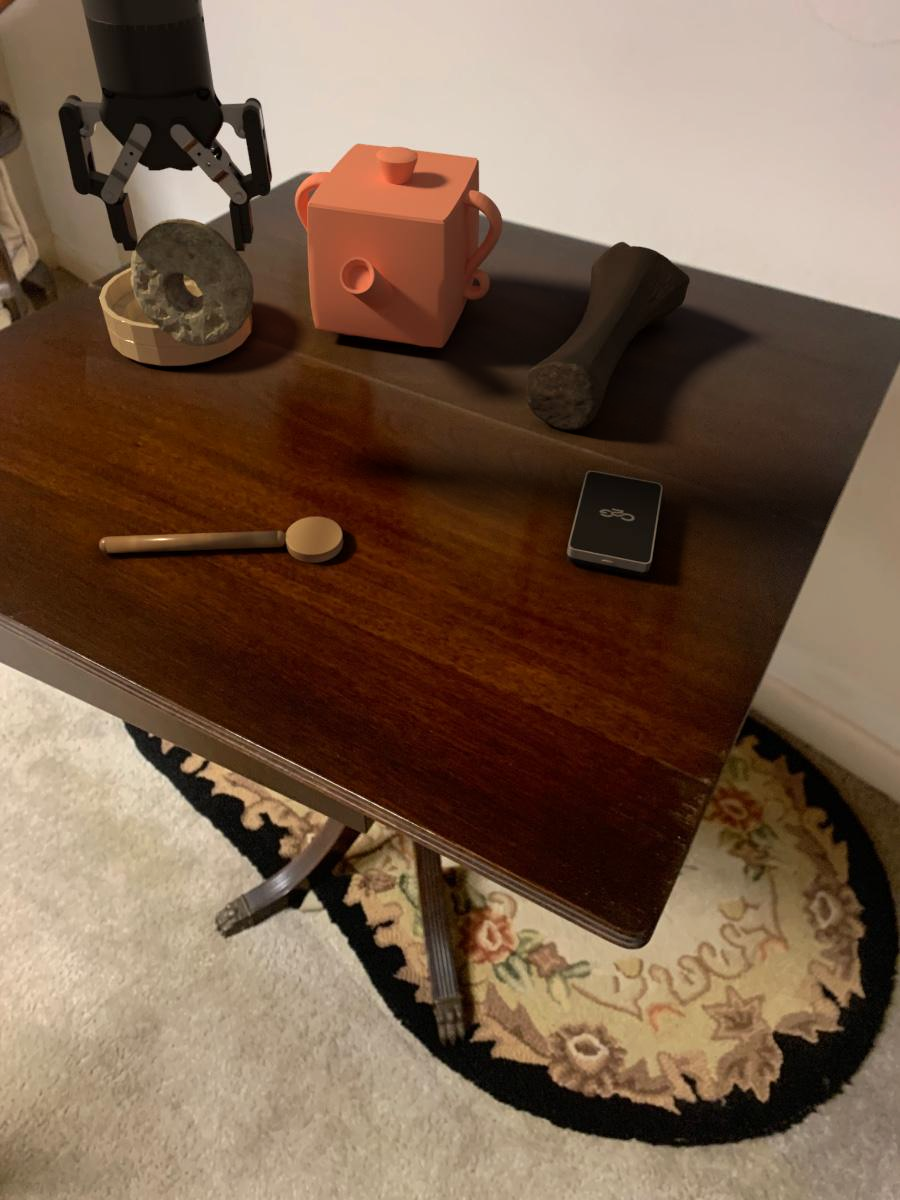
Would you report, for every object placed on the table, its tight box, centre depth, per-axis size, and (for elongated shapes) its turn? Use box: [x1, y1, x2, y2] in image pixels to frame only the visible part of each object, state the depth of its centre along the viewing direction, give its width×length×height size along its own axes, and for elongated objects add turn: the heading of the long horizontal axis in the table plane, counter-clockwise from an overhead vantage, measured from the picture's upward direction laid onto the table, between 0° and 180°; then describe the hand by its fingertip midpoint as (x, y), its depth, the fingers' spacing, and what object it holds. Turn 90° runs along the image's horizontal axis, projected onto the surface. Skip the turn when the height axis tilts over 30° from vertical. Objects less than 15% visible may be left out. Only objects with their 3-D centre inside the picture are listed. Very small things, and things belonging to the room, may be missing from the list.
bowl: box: [98, 267, 253, 367], centre depth 96 cm, size 15×15×5 cm
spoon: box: [98, 516, 344, 564], centre depth 74 cm, size 20×5×1 cm, turn 95°
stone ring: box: [130, 218, 255, 346], centre depth 72 cm, size 10×4×10 cm, turn 72°
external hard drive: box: [566, 470, 663, 578], centre depth 77 cm, size 7×11×2 cm, turn 165°
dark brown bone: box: [525, 241, 691, 431], centre depth 94 cm, size 11×10×28 cm
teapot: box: [294, 143, 503, 349], centre depth 94 cm, size 25×23×18 cm
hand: (187, 247), depth 69 cm, fingers closed on stone ring, 8 cm apart
